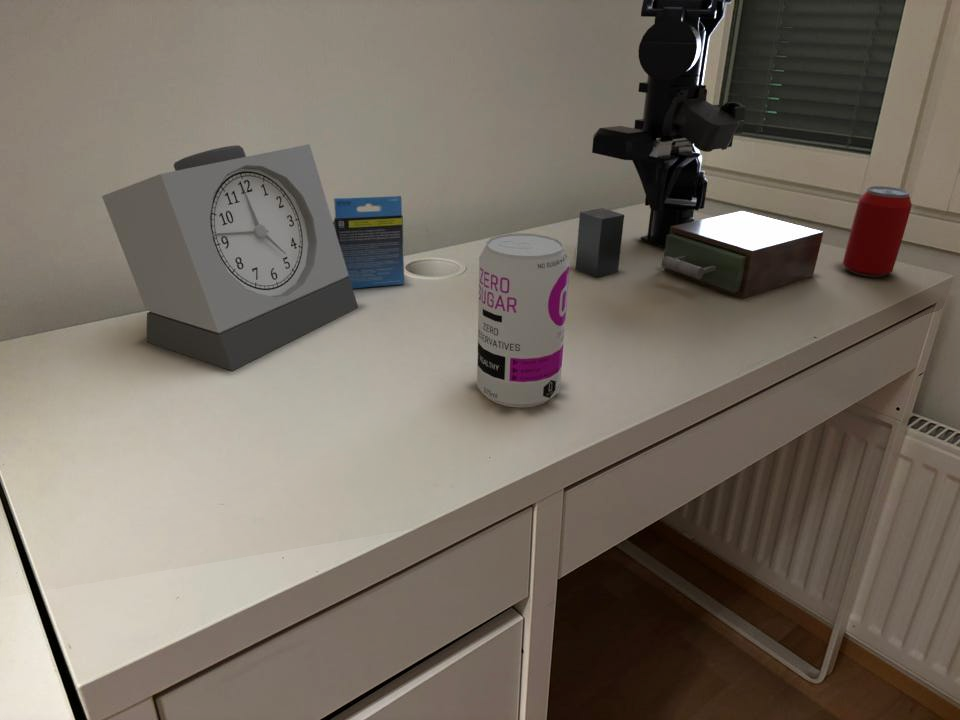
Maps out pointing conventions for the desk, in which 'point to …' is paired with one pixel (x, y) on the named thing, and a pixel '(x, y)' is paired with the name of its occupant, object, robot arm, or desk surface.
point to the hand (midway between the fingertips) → (655, 210)
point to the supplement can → (521, 318)
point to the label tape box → (371, 240)
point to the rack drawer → (704, 262)
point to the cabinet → (758, 248)
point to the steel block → (599, 242)
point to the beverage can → (877, 231)
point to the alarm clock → (233, 253)
